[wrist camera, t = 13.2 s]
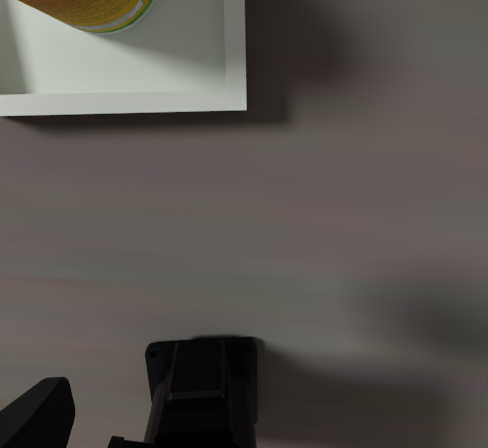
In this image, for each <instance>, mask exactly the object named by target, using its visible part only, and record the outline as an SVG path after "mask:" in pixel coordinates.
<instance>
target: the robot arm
mask: <svg viewBox="0 0 488 448" xmlns="http://www.w3.org/2000/svg"><path fill="white" fill-rule="evenodd" d="M247 345H249V346H251V347H250V348H245V346H247ZM151 351H157V352H158V353H153V352H151ZM145 358H146V365H147V372H148V379H149V387H150V394H151V401H152V407H151V412H150V416H149V420H148V425H147V429H146V433H145V437H144V442H138V441H130V440H124V437H118V436H112V438H111V440H110V443H109V445H108V448H257V447H256V437H255V427H254V424H256V422H257V348H256V342H255V341H254V339H252V338H231V339H207V340H189V341H175V342H157V343H151V344H149V345H148V346H147V348H146V352H145ZM74 419H75V405H74V401H73V396H72V392H71V388H70V384H69V381H68V379H67V378H66V377H50V378H45V379H43V380H41V381H40V382H39V383H37V384H36V385H35V386H33V387H32V388H31V389H29V390H28V391H27V392H25V393H24V394H23V395H21V396H20V397H19V398H17V399H16V400H14V401H13V402H12V403H10V404H9V405H8V406H6V407H5V408H4V409H2V410H1V411H0V448H66V447H67V443H68V440H69V436H70V433H71V430H72V426H73V423H74Z"/></svg>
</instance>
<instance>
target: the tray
mask: <svg viewBox="0 0 488 448" xmlns="http://www.w3.org/2000/svg"><path fill="white" fill-rule="evenodd" d="M233 110H247V100H246V45H245V0H155V2H154V4H153V6H152V7H151V9H150V10H149V11H148V13H147V14H146V15H145V16H144V17H143V18H142V19H141V20H140V21H139V22H137V23H136V24H135V25H133V26H132V27H130V28H128V29H126V30H123V31H121V32H117V33H112V34H93V33H88V32H84V31H81V30H78V29H76V28H73V27H71V26H69V25H67V24H65V23H63V22H61V21H59V20H57V19H55V18H53V17H51V16H49V15H47V14H45V13H43V12H41V11H39V10H37V9H35V8H33V7H30V6H28V5H26V4H24V3H22V2H20V1H18V0H0V116H26V115H68V114H109V113H150V112H192V111H233Z"/></svg>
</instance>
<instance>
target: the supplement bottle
mask: <svg viewBox="0 0 488 448" xmlns="http://www.w3.org/2000/svg"><path fill="white" fill-rule="evenodd" d="M18 1H20V2H22V3H24V4H26V5H28V6H30V7H33V8H35V9H37V10H39V11H41V12H43V13H45V14H47V15H49V16H51V17H53V18H55V19H57V20H59V21H61V22H63V23H65V24H67V25H69V26H71V27H73V28H76V29H78V30H81V31H84V32H88V33H93V34H112V33H117V32H121V31H123V30H126V29H128V28H130V27H132V26H133V25H135V24H136V23H137V22H139V21H140V20H141V19H142V18H143V17H144V16H145V15H146V14H147V13H148V11H149V10H150V9H151V7H152V6H153V4H154V2H155V0H18Z"/></svg>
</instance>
